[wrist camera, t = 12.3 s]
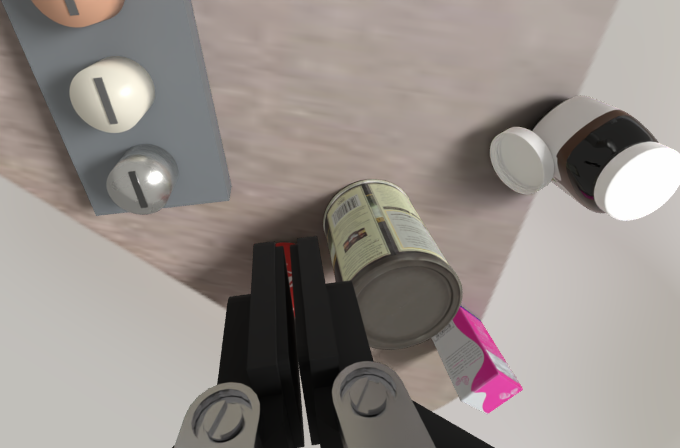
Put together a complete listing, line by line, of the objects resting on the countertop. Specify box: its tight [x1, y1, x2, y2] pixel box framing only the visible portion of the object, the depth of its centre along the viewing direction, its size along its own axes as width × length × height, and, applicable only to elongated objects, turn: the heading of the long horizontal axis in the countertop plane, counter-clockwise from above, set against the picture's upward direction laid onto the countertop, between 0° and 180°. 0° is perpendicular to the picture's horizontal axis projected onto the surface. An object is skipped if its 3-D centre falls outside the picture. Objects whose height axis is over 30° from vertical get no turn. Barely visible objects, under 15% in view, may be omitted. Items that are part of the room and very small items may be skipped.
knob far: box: [106, 144, 178, 215], centre depth 35 cm, size 5×5×7 cm
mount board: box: [1, 0, 232, 216], centre depth 33 cm, size 22×12×3 cm, turn 3°
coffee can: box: [323, 180, 462, 350], centre depth 39 cm, size 10×10×14 cm
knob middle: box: [69, 56, 155, 133], centre depth 31 cm, size 5×5×7 cm
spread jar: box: [490, 95, 680, 221], centre depth 39 cm, size 12×11×12 cm
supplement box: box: [432, 306, 523, 414], centre depth 52 cm, size 6×6×12 cm
